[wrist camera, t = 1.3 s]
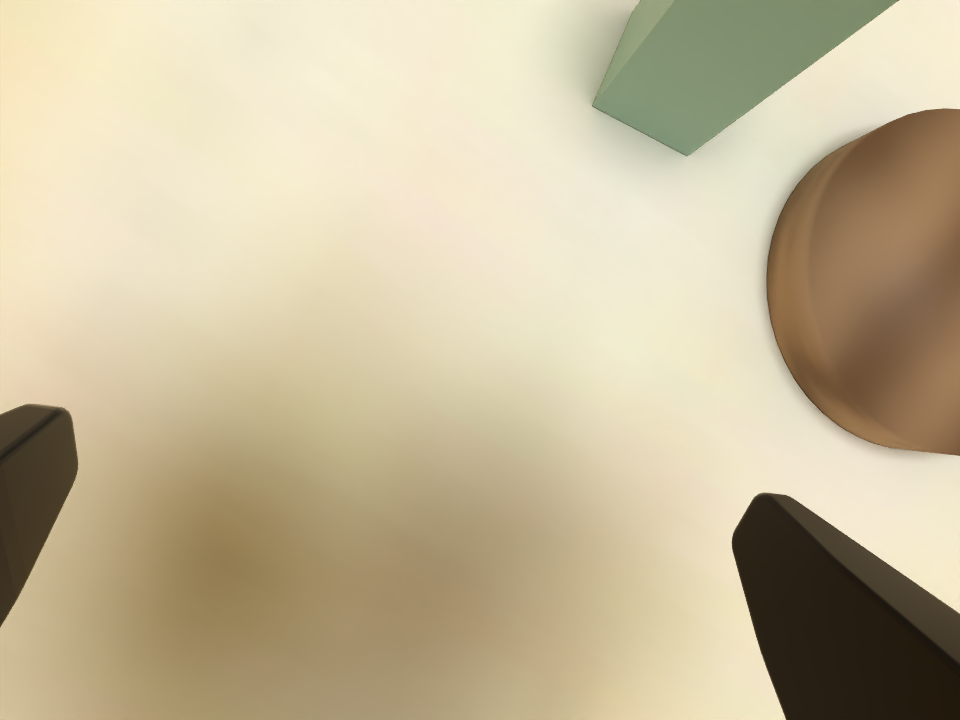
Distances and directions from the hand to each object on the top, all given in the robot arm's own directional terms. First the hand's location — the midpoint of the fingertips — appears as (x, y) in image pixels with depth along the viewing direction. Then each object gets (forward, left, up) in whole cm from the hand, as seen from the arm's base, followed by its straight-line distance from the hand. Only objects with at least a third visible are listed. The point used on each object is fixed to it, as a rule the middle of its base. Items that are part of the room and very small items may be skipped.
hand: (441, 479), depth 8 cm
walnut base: (-11, -20, -15) cm, 27 cm away
